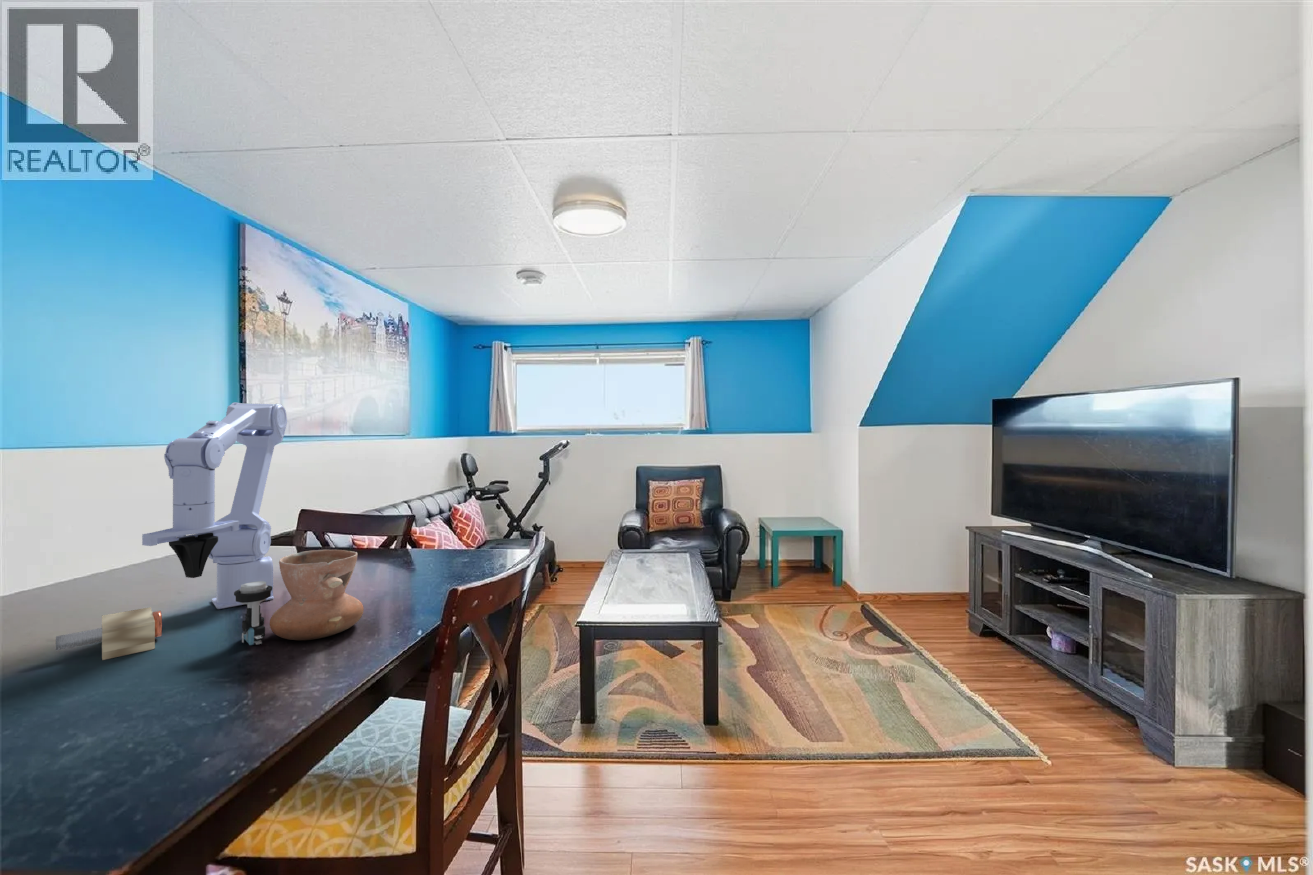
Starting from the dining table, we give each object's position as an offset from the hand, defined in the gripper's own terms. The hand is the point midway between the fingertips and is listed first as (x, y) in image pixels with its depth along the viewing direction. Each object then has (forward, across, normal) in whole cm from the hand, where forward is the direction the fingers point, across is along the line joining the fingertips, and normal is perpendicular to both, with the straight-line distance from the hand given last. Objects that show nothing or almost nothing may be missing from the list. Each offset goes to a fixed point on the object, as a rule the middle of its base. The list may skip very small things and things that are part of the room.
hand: (193, 576), depth 94 cm
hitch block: (+10, +8, -3) cm, 13 cm away
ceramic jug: (+10, -6, +22) cm, 25 cm away
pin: (+9, +10, -4) cm, 14 cm away
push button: (+10, +1, +16) cm, 19 cm away
